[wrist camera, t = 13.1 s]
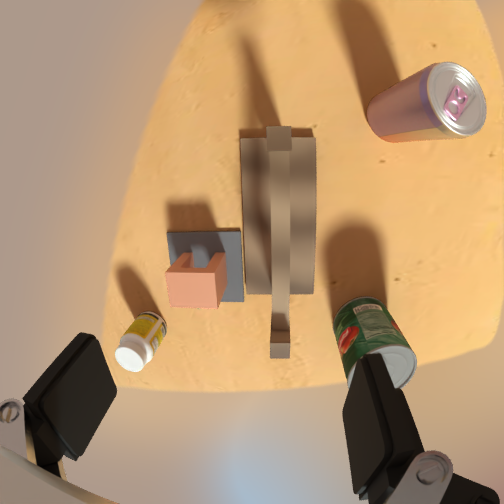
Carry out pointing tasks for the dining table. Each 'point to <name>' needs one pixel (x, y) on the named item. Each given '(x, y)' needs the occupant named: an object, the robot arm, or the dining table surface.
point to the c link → (197, 282)
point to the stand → (279, 222)
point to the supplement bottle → (140, 341)
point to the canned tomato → (372, 339)
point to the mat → (205, 249)
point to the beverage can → (429, 106)
